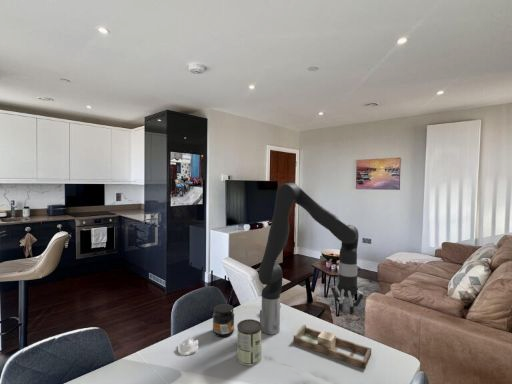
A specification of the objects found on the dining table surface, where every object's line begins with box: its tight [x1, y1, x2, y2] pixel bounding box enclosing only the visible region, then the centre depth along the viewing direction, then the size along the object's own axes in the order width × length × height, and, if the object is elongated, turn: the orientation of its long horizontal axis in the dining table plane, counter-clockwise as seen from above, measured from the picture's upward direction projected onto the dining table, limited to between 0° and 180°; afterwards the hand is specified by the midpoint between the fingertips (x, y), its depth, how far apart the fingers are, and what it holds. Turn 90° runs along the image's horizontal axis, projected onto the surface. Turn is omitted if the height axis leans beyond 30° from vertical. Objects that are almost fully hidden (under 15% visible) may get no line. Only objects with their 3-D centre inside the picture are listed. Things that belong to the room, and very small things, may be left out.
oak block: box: [318, 330, 337, 350], centre depth 122 cm, size 6×6×5 cm
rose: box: [177, 337, 199, 356], centre depth 122 cm, size 10×4×10 cm
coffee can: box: [236, 318, 262, 367], centre depth 116 cm, size 10×10×14 cm
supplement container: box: [212, 303, 235, 338], centre depth 136 cm, size 10×10×12 cm
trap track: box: [292, 324, 372, 370], centre depth 121 cm, size 31×11×5 cm, turn 56°
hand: (346, 312), depth 117 cm, fingers open, 3 cm apart
